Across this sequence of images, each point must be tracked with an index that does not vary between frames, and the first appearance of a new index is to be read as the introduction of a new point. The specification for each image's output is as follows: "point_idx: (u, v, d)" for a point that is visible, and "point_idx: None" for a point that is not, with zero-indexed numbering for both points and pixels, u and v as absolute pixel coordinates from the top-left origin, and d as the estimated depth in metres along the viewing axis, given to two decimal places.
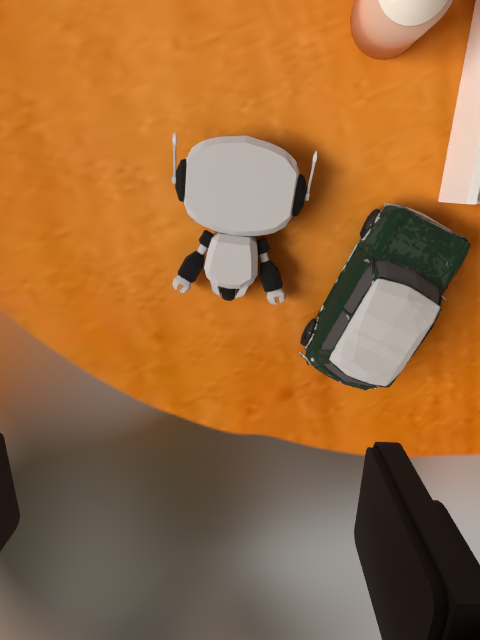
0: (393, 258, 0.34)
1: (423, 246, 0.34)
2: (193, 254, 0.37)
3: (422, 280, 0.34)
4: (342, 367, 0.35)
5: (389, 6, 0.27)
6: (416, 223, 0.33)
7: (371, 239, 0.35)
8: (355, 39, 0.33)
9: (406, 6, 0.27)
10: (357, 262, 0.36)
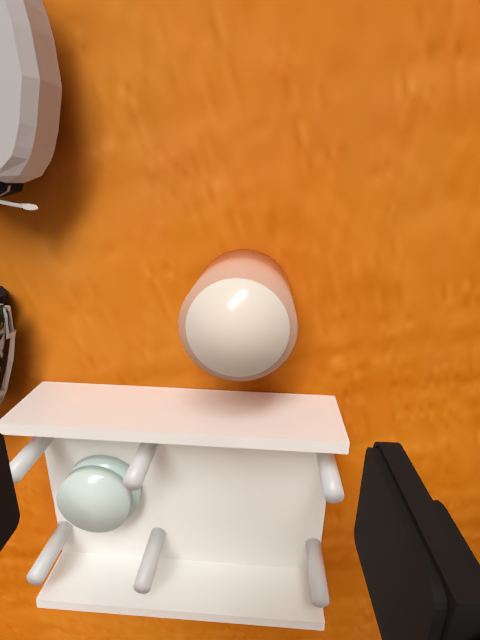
0: None
1: None
2: None
3: None
4: None
5: (206, 298, 0.19)
6: None
7: None
8: (216, 258, 0.24)
9: (206, 321, 0.19)
10: None
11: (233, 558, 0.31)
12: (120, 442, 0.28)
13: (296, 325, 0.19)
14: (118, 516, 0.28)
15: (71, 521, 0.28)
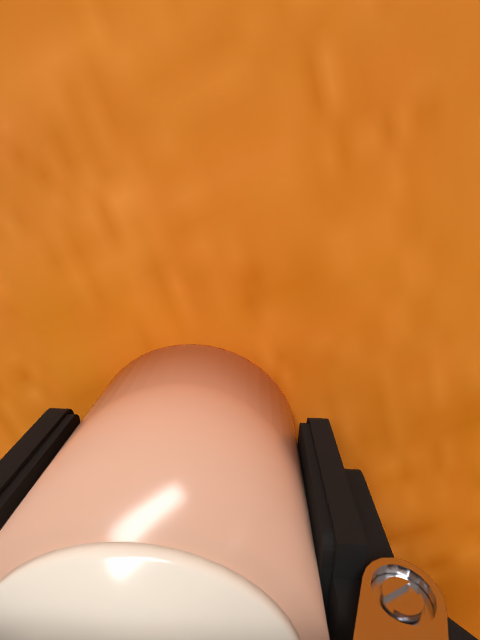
0: None
1: None
2: None
3: None
4: None
5: (20, 607, 0.05)
6: None
7: None
8: (128, 366, 0.11)
9: None
10: None
11: None
12: None
13: None
14: None
15: None
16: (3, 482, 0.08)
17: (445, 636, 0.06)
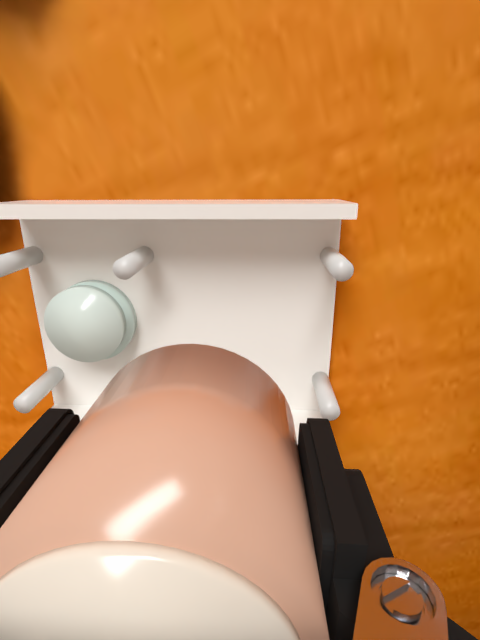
0: None
1: None
2: None
3: None
4: None
5: (19, 607, 0.05)
6: None
7: None
8: (128, 366, 0.11)
9: None
10: None
11: None
12: (111, 262, 0.26)
13: None
14: (111, 340, 0.26)
15: (60, 349, 0.26)
16: (3, 482, 0.08)
17: (444, 636, 0.06)
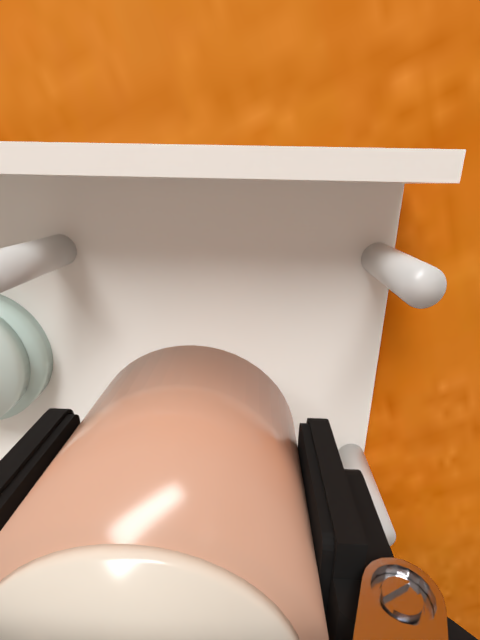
0: None
1: None
2: None
3: None
4: None
5: (19, 610, 0.05)
6: None
7: None
8: (128, 367, 0.11)
9: None
10: None
11: None
12: None
13: None
14: None
15: None
16: (3, 482, 0.08)
17: (444, 636, 0.06)
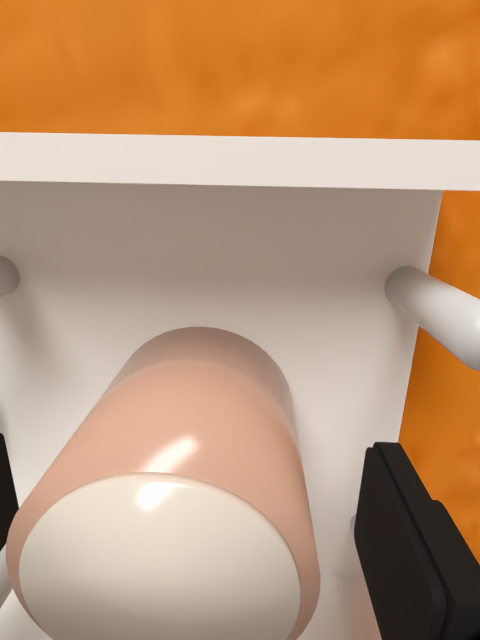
0: None
1: None
2: None
3: None
4: None
5: (67, 526, 0.07)
6: None
7: None
8: (144, 346, 0.12)
9: (74, 576, 0.07)
10: None
11: None
12: None
13: (317, 580, 0.07)
14: None
15: None
16: None
17: None
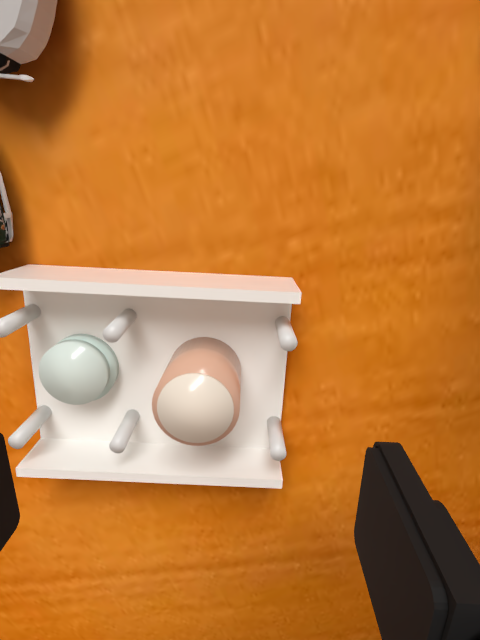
0: None
1: None
2: None
3: None
4: None
5: (173, 386, 0.26)
6: None
7: None
8: (184, 343, 0.31)
9: (172, 402, 0.26)
10: None
11: None
12: (99, 320, 0.31)
13: (238, 407, 0.26)
14: (96, 386, 0.30)
15: (51, 393, 0.31)
16: None
17: None
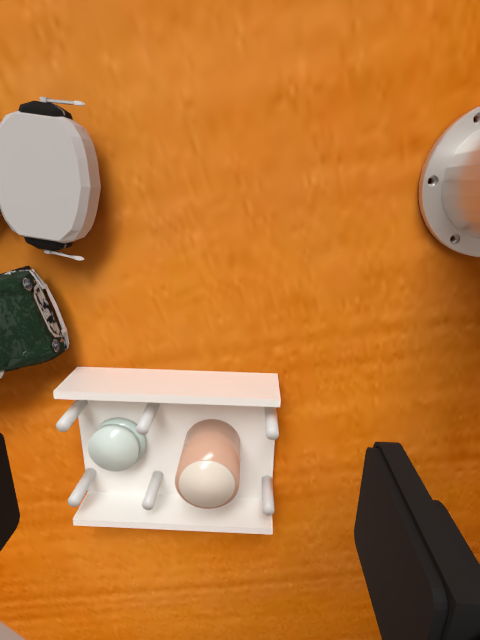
0: None
1: (13, 324, 0.34)
2: None
3: None
4: None
5: (191, 469, 0.35)
6: (22, 303, 0.34)
7: None
8: (197, 424, 0.41)
9: (190, 480, 0.36)
10: None
11: None
12: (131, 408, 0.41)
13: (238, 483, 0.36)
14: (130, 459, 0.40)
15: (97, 463, 0.41)
16: None
17: None
